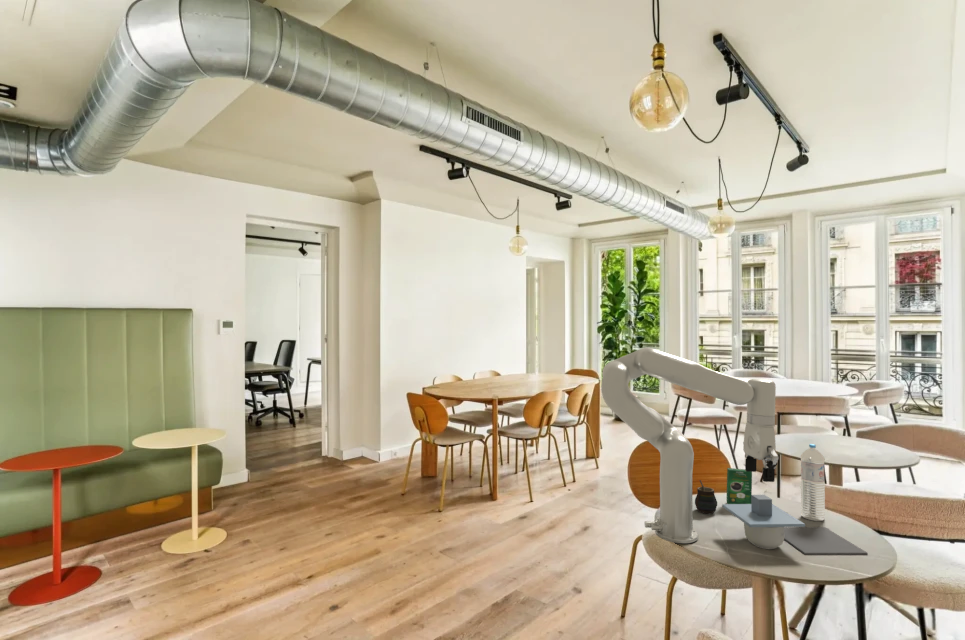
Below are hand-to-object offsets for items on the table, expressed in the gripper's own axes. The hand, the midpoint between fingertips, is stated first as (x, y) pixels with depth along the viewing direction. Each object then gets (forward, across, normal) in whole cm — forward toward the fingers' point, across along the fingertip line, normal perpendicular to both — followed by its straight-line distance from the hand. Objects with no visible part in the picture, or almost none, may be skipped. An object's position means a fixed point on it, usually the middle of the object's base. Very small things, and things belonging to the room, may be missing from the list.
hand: (759, 476), depth 152 cm
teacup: (+20, 0, +1) cm, 20 cm away
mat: (+20, -1, +18) cm, 27 cm away
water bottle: (+20, -19, +29) cm, 40 cm away
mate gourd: (+20, -25, -5) cm, 33 cm away
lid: (+12, 0, +1) cm, 12 cm away
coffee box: (+20, -31, +10) cm, 38 cm away
